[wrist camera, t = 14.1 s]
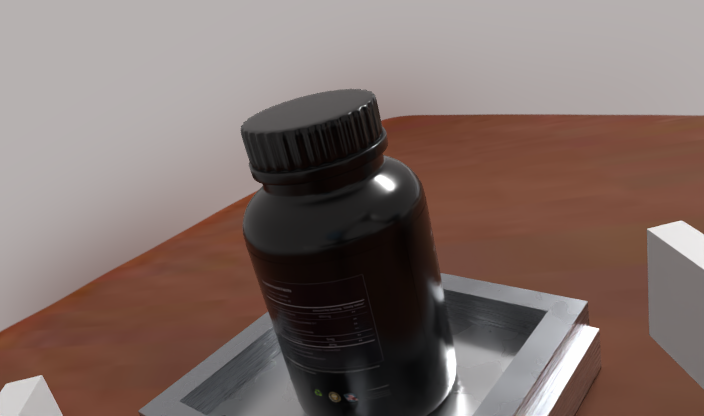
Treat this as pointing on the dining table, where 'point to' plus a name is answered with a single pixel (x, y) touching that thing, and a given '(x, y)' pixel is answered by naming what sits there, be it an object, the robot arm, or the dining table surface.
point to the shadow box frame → (470, 348)
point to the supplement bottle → (346, 260)
